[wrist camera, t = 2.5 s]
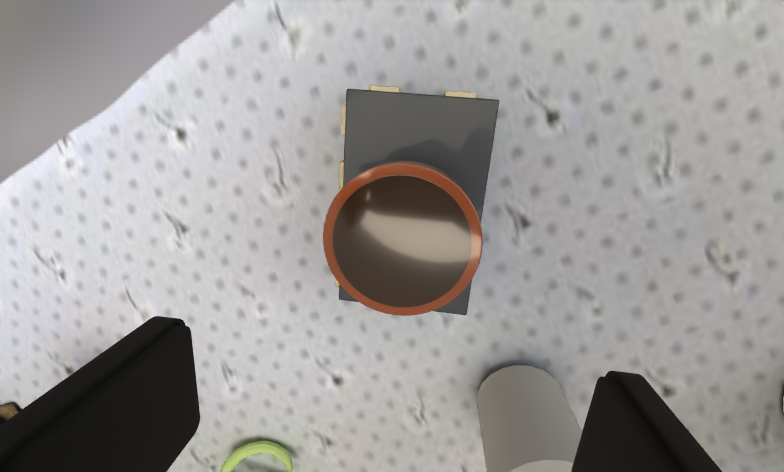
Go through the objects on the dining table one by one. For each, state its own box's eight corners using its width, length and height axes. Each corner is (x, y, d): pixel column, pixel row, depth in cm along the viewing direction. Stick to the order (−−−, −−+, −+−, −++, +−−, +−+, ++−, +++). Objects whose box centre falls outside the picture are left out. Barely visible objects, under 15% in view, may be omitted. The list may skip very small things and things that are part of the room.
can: (470, 363, 33) (488, 488, 22) (557, 354, 32) (624, 482, 21) (481, 430, 35) (503, 576, 24) (563, 424, 34) (628, 575, 23)
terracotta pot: (477, 156, 22) (495, 171, 16) (461, 270, 24) (470, 325, 18) (356, 146, 23) (324, 156, 16) (351, 257, 25) (320, 306, 18)
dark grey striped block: (486, 100, 27) (500, 94, 21) (461, 280, 31) (466, 315, 25) (360, 91, 28) (341, 82, 22) (352, 268, 32) (334, 299, 26)
